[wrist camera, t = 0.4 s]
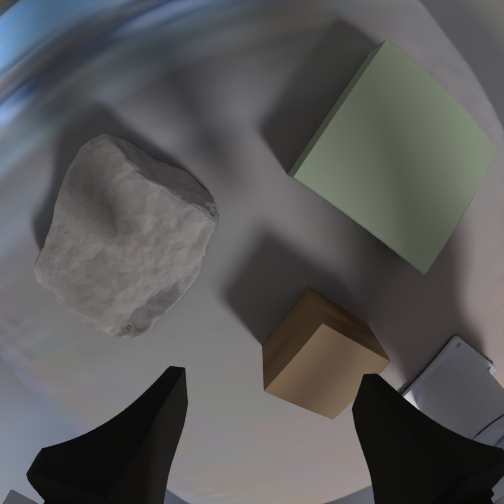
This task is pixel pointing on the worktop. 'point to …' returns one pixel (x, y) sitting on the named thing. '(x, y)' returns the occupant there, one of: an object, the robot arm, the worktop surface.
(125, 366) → the worktop surface
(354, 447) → the worktop surface
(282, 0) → the worktop surface
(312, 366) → the walnut block
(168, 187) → the stone block
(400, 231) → the base block
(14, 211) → the worktop surface
